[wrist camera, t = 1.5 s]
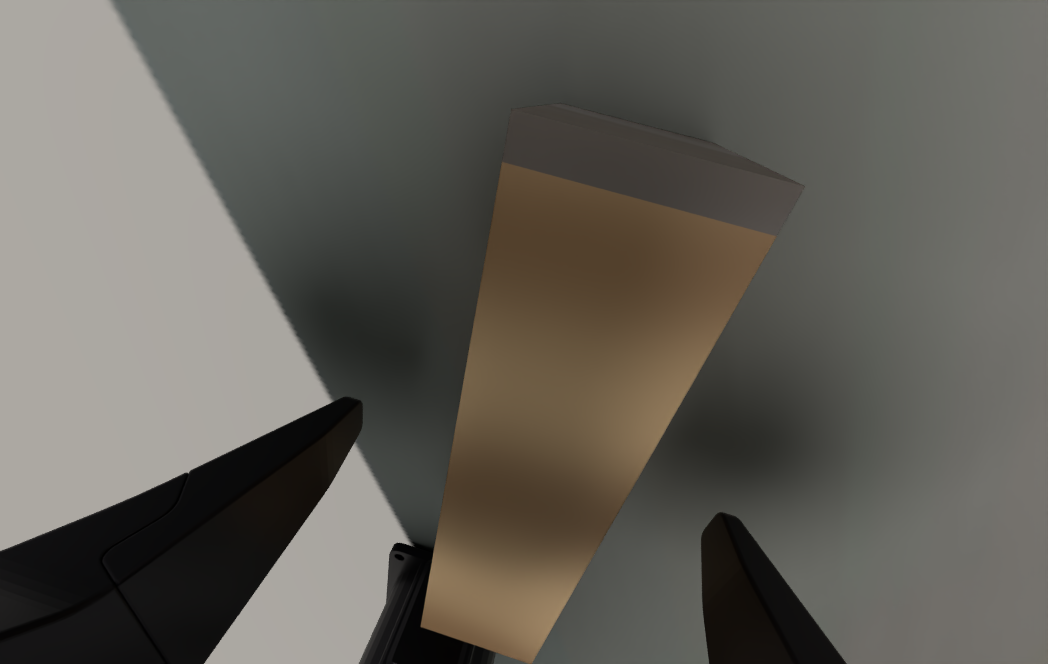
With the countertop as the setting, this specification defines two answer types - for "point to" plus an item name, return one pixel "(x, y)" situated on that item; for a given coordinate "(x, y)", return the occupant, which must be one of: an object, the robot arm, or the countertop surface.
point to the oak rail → (583, 351)
